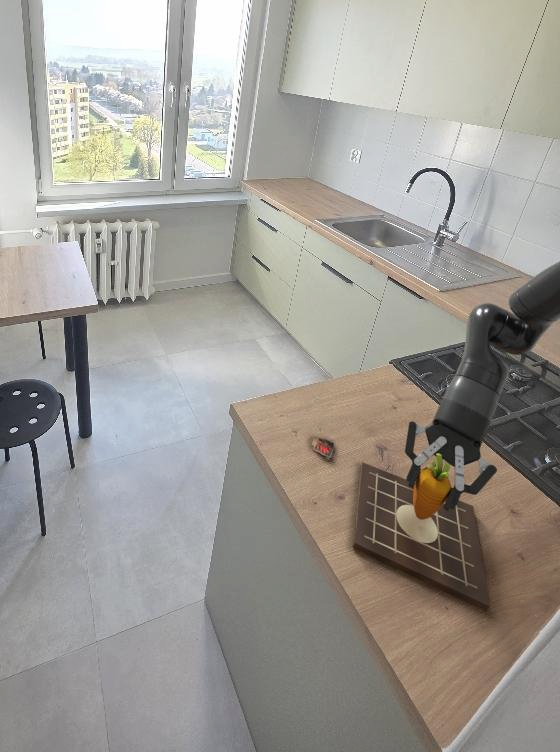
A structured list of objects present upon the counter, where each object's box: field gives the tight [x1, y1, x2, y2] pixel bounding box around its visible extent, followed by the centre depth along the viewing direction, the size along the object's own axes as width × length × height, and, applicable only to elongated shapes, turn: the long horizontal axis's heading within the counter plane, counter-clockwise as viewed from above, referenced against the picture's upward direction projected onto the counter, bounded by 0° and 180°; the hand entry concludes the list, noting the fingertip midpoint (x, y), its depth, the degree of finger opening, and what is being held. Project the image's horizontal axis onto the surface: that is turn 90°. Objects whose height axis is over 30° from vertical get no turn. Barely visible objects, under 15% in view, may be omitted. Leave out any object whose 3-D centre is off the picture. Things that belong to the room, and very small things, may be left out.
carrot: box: [413, 453, 453, 520], centre depth 73 cm, size 5×5×15 cm
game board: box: [352, 461, 491, 612], centre depth 77 cm, size 20×18×2 cm
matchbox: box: [311, 437, 335, 461], centre depth 92 cm, size 5×5×1 cm
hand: (427, 497), depth 72 cm, fingers closed on carrot, 5 cm apart
